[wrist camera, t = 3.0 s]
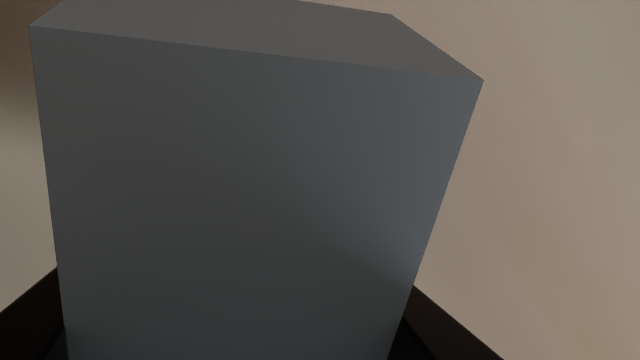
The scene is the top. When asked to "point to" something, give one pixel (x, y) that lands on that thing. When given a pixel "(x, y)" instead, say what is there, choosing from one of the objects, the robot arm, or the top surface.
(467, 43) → the top surface
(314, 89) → the grey stepped block
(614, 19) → the top surface
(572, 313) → the top surface
